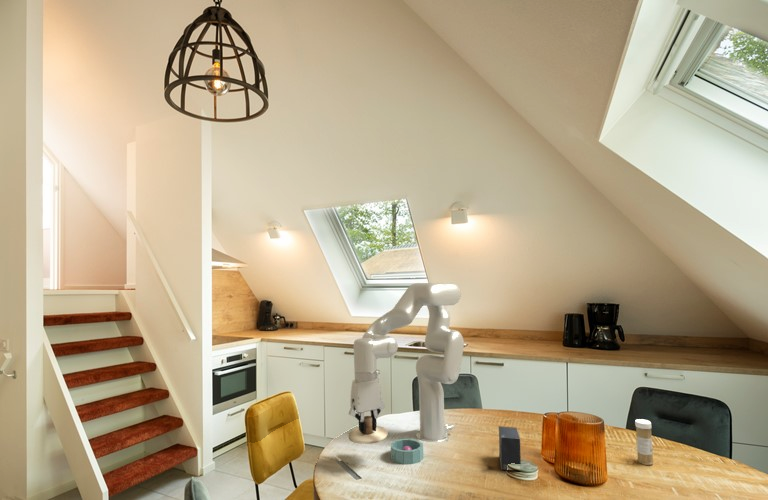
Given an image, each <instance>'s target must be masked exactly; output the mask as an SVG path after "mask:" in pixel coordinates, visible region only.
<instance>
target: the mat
mask: <svg viewBox="0 0 768 500" xmlns="http://www.w3.org/2000/svg"><path fill="white" fill-rule="evenodd" d="M336 463H337V464H338V465H340V466H341V468H342V469H344V470H345V471H346V472H348V474H349V475H351V476H352V477H353V478H354V479H355V480H356V481H357V480H360V479H362V477H361V476H360V475H359V474H358V473H357V472H356V471H354V470H353V469H352V468H351V467H350V466H349V465H348V464H346V463H345V462H344V460H342V459H341V460H337V461H336Z"/></svg>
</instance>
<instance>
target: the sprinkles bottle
mask: <svg viewBox="0 0 768 500" xmlns="http://www.w3.org/2000/svg"><path fill="white" fill-rule="evenodd" d="M634 425H635V429H636V430H635V432H636V435H635V436H636V450H637V452H636V453H637V462H638V463H639V464H642V465H646V466H652V465H654V459H653V458H654V457H653V455H654V454H653V437H652V422H651V421H650V420H648V419H643V418H641V419H640V418H639V419H638V418H636V419H635V421H634Z"/></svg>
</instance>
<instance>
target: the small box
mask: <svg viewBox="0 0 768 500" xmlns="http://www.w3.org/2000/svg"><path fill="white" fill-rule="evenodd" d="M498 436H499V437H498V443H499V444H498V445H499V446H498V447H499V452H498V454H499V456H498V457H499V465H500V470H501V471H508V470H507V465H508V464H511V463H515V464H522V457H521V455H522V454H521V438H520V435H519V431H518V427H513V426H512V427H511V426H510V427H509V426H499V425H498Z"/></svg>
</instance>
